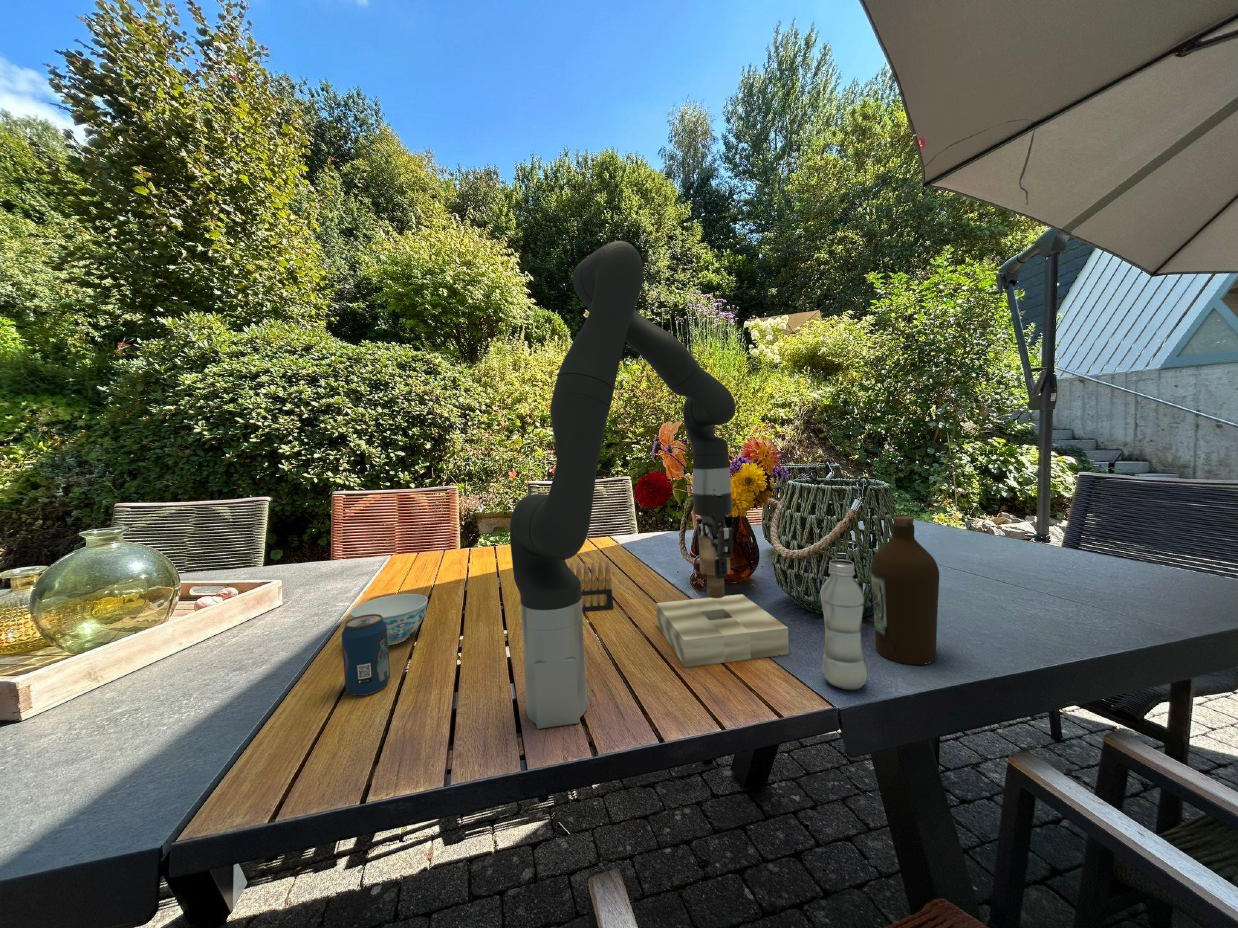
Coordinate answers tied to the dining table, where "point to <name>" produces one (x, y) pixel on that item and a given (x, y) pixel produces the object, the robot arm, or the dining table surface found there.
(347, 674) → the soda can
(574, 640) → the robot arm
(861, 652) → the plastic bottle
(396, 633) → the chinaware
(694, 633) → the board
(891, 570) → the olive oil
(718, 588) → the peg
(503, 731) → the dining table surface
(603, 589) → the ammunition clip
